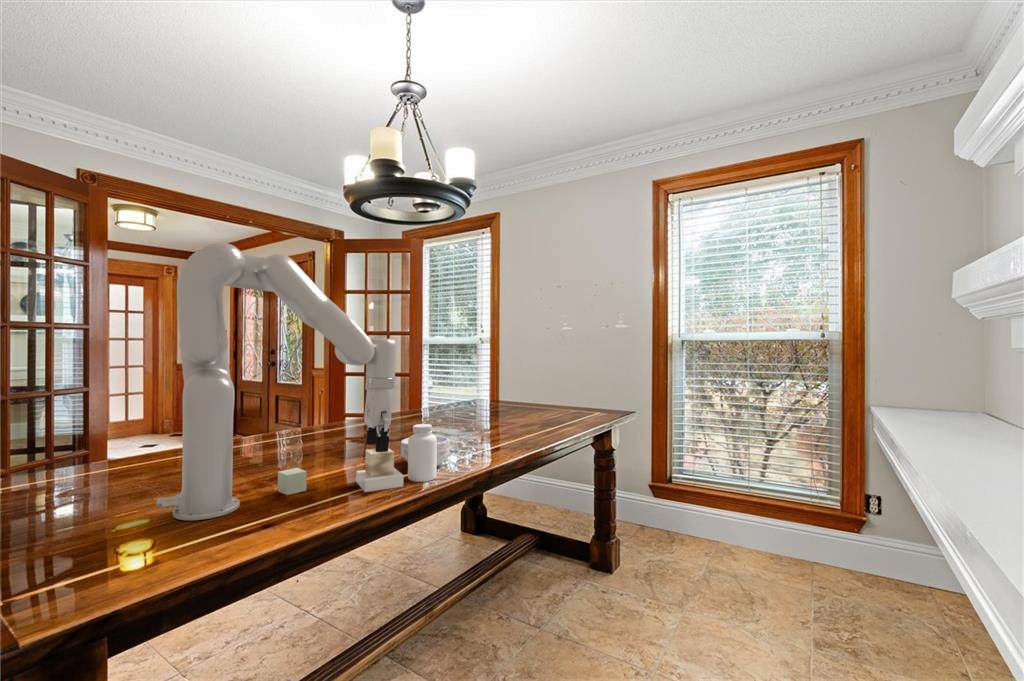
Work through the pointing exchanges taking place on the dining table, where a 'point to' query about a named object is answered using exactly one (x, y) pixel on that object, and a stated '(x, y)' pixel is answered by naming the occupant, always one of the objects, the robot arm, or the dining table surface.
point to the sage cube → (292, 481)
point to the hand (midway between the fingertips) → (376, 447)
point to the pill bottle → (422, 454)
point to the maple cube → (379, 463)
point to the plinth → (379, 481)
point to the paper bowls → (442, 448)
